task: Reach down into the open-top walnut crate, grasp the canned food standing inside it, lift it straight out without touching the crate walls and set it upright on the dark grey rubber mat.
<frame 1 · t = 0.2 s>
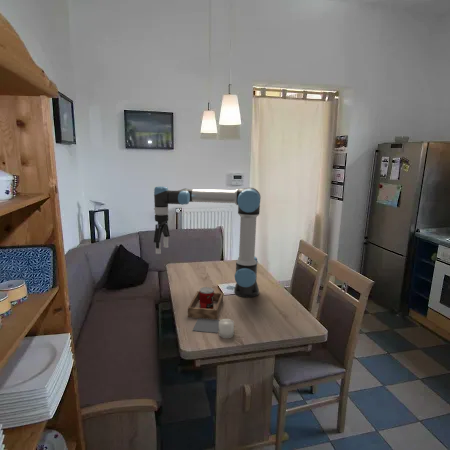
hand: (162, 250, 183), 28 cm above the table, fingers open, 13 cm apart
cup: (226, 334, 147), on the table
canned food: (206, 309, 173), resting in crate
mat: (207, 325, 155), on the table
crate: (206, 308, 173), on the table
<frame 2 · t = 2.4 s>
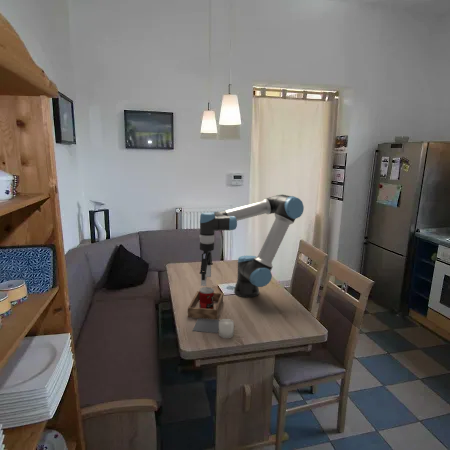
hand: (206, 281, 169), 16 cm above the table, fingers open, 13 cm apart
nothing on the table moved.
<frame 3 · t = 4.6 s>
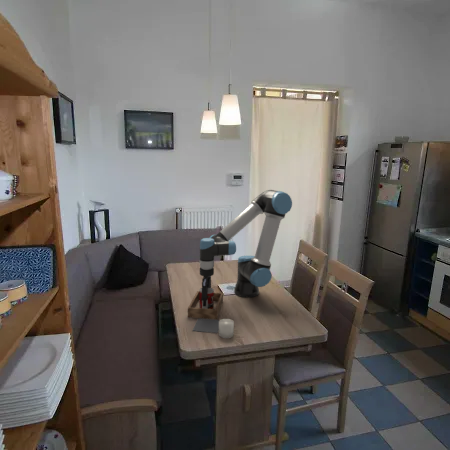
hand: (206, 307, 172), 1 cm above the table, fingers closed on canned food, 8 cm apart
canned food: (206, 309, 173), resting in crate, touching gripper
everything else where it was.
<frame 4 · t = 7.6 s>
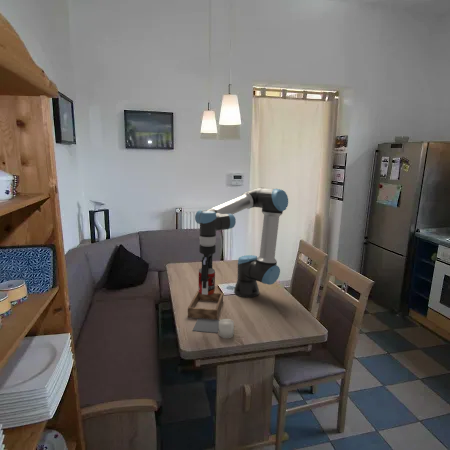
hand: (206, 290, 152), 18 cm above the table, fingers closed on canned food, 8 cm apart
canned food: (206, 292, 152), point 17 cm above the table, touching gripper
everything else where it was.
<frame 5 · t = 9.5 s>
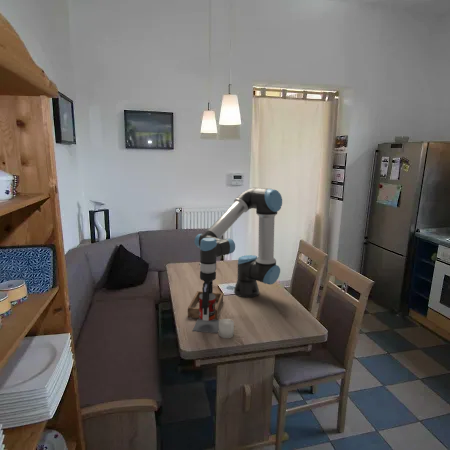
hand: (207, 315, 153), 5 cm above the table, fingers closed on canned food, 8 cm apart
canned food: (207, 317, 154), point 4 cm above the table, touching gripper
everything else where it was.
when the fingers open (3 cm above the table, at t = 10.8 s): canned food drops 1 cm, resting on mat.
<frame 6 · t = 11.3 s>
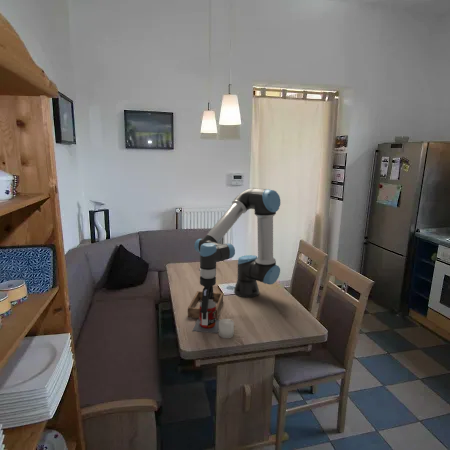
hand: (207, 318, 154), 4 cm above the table, fingers open, 13 cm apart
canned food: (207, 325, 155), resting on mat
everything else where it was.
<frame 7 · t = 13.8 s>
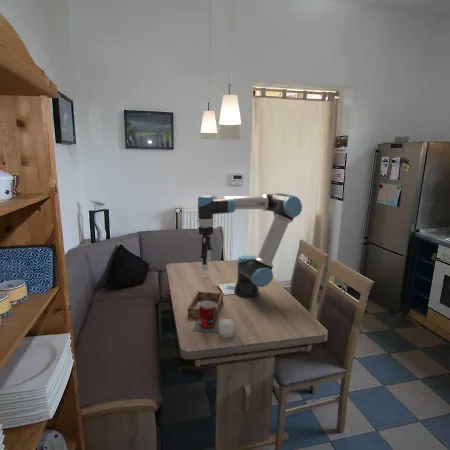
hand: (206, 265, 166), 25 cm above the table, fingers open, 13 cm apart
nothing on the table moved.
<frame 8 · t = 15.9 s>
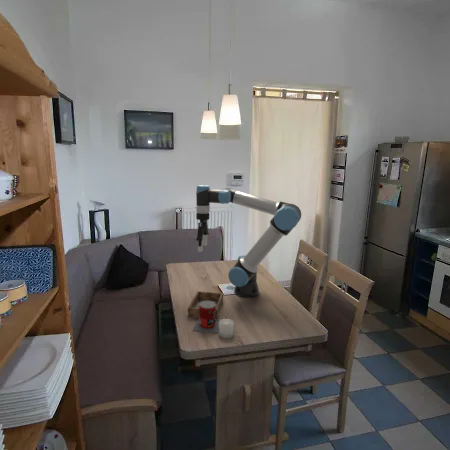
hand: (202, 248, 185), 29 cm above the table, fingers open, 13 cm apart
nothing on the table moved.
at the end: canned food inside the target area on the mat (0.1 cm from its centre), point 0.2 cm above the mat's base; canned food tilted 0°; the gripper is holding nothing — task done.
